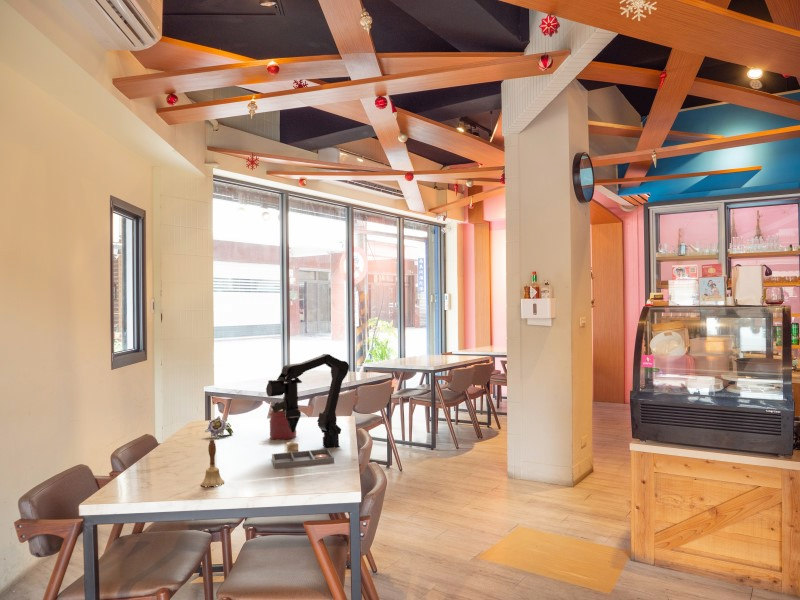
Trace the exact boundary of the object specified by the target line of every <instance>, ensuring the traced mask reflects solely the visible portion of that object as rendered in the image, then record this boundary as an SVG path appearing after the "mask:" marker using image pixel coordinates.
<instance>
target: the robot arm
mask: <svg viewBox="0 0 800 600" xmlns="http://www.w3.org/2000/svg"><path fill="white" fill-rule="evenodd" d="M323 365H326V366H327V367H329V368H330V375H331V381H330V387H329V391H328V396H327V399H326V404H325V408H324V410H323V412H319V414H318V418H317V420H316V422H317V426H318V427H319V429H320V431H321V433H323V436H322V446H323V448H324V449H331V448H332V449H333V448H340V441H339V440H340V439H339V435H340V434H341V431H342V428H341V427H340V426H338V425H337V420H338V419H337V414H336V412H337V411H336V410H337V406H338V402H339V397H340V393H341V389H342V385H343V381H344V379H345V378H346V377H347V376H348V373H349V370H350V365H349V363H348V362H347V361H346V360H340V359H338V358H336V357H334V356H332V355H331V354H329V353H323V354H321V355H318V356H316V357H313V358H311V359H307V360H305V361H303V362H298V363H290V364H286V365H284V366H283V367H282V369H281V372H280V374H279V375H278V377H277V379H276V380H275V379H274V380H273V379H271V380H270V379H269V380H268V381H267V385H266V388H265V392H266V395H267V397H270V398H271V397H279V396H280V397H281V396H283V397H282V398H283V399H282V400H279V401H276V402H274V403H272V404H271V405H270V406H271V409H273V412H274V413H276V412H277V411H279V410H282V411H283V413H284V414H285V416H286V419H287V420H288V424H289V428H291V432H294V431H295V429H296V430H297V426H298V423H299V420H300V418H301V415H302V412H301V410H300V409H299V403H298V401H299V394H298V391H299V390H298V384H302V383H303V381H302V380H300V378H299V377H300V376H301V375H303V374H304V373H306V372H307V371H310V370H313V369H316V368H318V367H322V366H323ZM284 411H285V412H284Z"/></svg>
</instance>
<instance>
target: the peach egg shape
mask: <svg viewBox="0 0 800 600" xmlns="http://www.w3.org/2000/svg"><path fill="white" fill-rule="evenodd" d="M321 458H327V455H324V454H321V455H316V456H315V459H321Z"/></svg>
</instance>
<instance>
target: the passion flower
mask: <svg viewBox="0 0 800 600" xmlns="http://www.w3.org/2000/svg"><path fill="white" fill-rule="evenodd" d="M221 418H222V417H221V416H220V415H219V416H217V417H216V418H214V419H211V420H210V421H208V422H209V423H208V427H207V429H205V430H204V433H208V432H209V433H210V437H212V438H213V437H214V438H215V439H217V438H218V437H219V435H220V434H221V435H220V436H224V432H225V431H227V433H228V434H229V436H232V435H233V433H234V430H233V429H232V428H231V427H232V425H231V424H230V422H228V418H224V419H221Z"/></svg>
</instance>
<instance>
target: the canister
mask: <svg viewBox="0 0 800 600" xmlns="http://www.w3.org/2000/svg"><path fill="white" fill-rule="evenodd" d="M270 410H271V412H269V414H268V415H269V416H270V417H269V436H270V437H269V438H270V439H271V440H272V439H273V440H276V439H283V440H290V439H293V438H296V437H297V428H296V429H295V431H294V432H291V428H289V424H288V420H287V419H286V416H285V414H284V413H283V411H282V410H279V411H277V412H276V413H274V412H273V409H272V408H270ZM284 412H285V411H284Z"/></svg>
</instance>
